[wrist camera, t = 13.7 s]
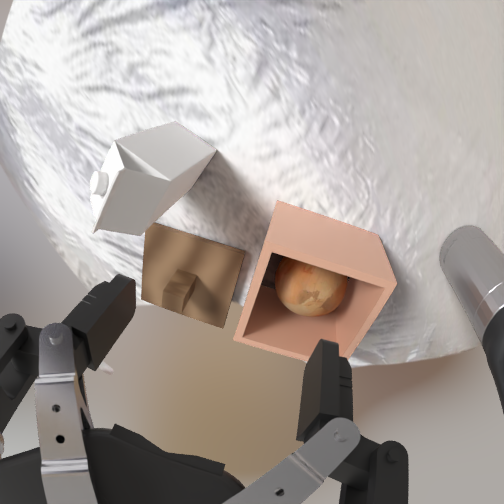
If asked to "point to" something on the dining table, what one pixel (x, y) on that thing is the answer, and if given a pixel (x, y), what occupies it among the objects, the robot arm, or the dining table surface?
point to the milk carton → (146, 177)
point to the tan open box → (325, 256)
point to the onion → (308, 287)
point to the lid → (189, 274)
